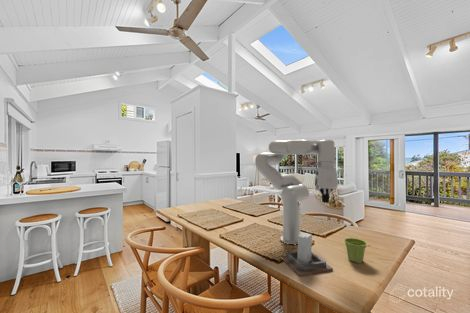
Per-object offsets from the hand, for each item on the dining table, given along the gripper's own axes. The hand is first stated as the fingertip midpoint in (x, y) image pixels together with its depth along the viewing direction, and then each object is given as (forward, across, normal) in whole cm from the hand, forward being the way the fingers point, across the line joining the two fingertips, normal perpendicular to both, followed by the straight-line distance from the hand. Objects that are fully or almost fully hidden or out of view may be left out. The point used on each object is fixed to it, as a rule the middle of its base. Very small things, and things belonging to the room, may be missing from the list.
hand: (325, 201), depth 105 cm
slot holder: (+26, -14, -6) cm, 31 cm away
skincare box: (+25, -15, -6) cm, 30 cm away
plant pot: (+26, +11, -8) cm, 29 cm away
